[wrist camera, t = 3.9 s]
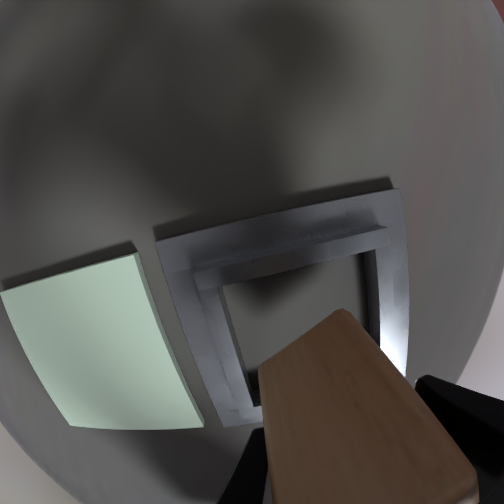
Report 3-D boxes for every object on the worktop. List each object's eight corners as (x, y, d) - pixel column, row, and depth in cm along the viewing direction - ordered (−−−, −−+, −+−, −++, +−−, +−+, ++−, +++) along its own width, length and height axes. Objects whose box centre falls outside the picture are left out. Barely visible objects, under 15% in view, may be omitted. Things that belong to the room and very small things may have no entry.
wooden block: (384, 363, 10) (484, 502, 2) (309, 415, 11) (354, 572, 3) (340, 300, 10) (486, 481, 2) (252, 364, 10) (272, 577, 2)
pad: (204, 420, 15) (203, 426, 14) (73, 420, 15) (70, 425, 14) (137, 251, 13) (133, 254, 12) (5, 289, 13) (-1, 292, 12)
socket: (400, 373, 15) (411, 386, 14) (224, 421, 15) (223, 438, 14) (393, 188, 12) (410, 188, 11) (158, 239, 12) (149, 246, 11)
